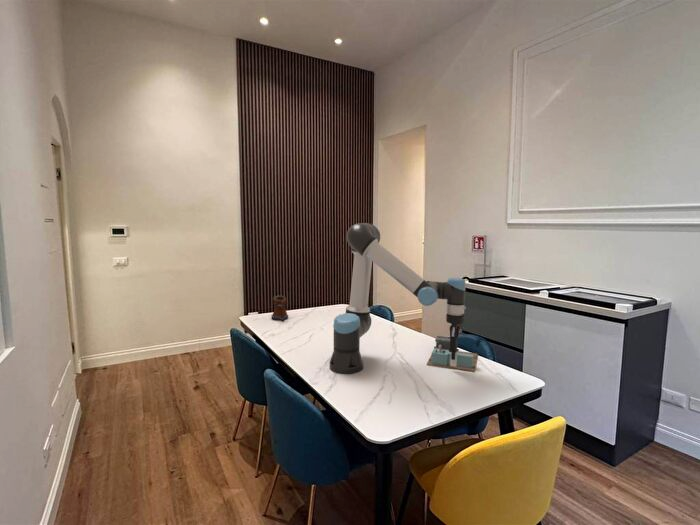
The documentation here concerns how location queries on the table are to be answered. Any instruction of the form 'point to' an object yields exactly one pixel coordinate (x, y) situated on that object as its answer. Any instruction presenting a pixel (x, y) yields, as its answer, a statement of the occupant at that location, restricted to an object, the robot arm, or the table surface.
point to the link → (444, 358)
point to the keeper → (442, 342)
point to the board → (457, 366)
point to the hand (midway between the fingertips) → (453, 365)
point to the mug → (279, 308)
